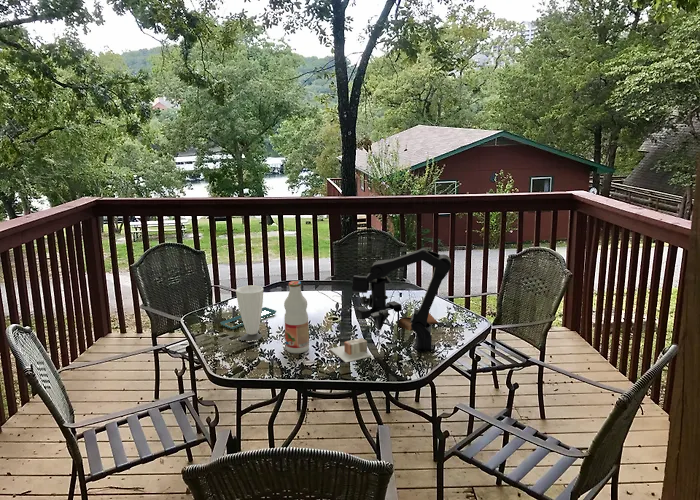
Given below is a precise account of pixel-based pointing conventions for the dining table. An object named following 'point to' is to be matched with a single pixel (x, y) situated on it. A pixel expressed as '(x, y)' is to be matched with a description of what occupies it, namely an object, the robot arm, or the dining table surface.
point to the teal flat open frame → (241, 317)
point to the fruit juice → (296, 320)
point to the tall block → (355, 346)
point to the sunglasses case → (407, 325)
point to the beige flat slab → (346, 357)
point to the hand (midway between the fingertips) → (379, 330)
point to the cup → (250, 310)
